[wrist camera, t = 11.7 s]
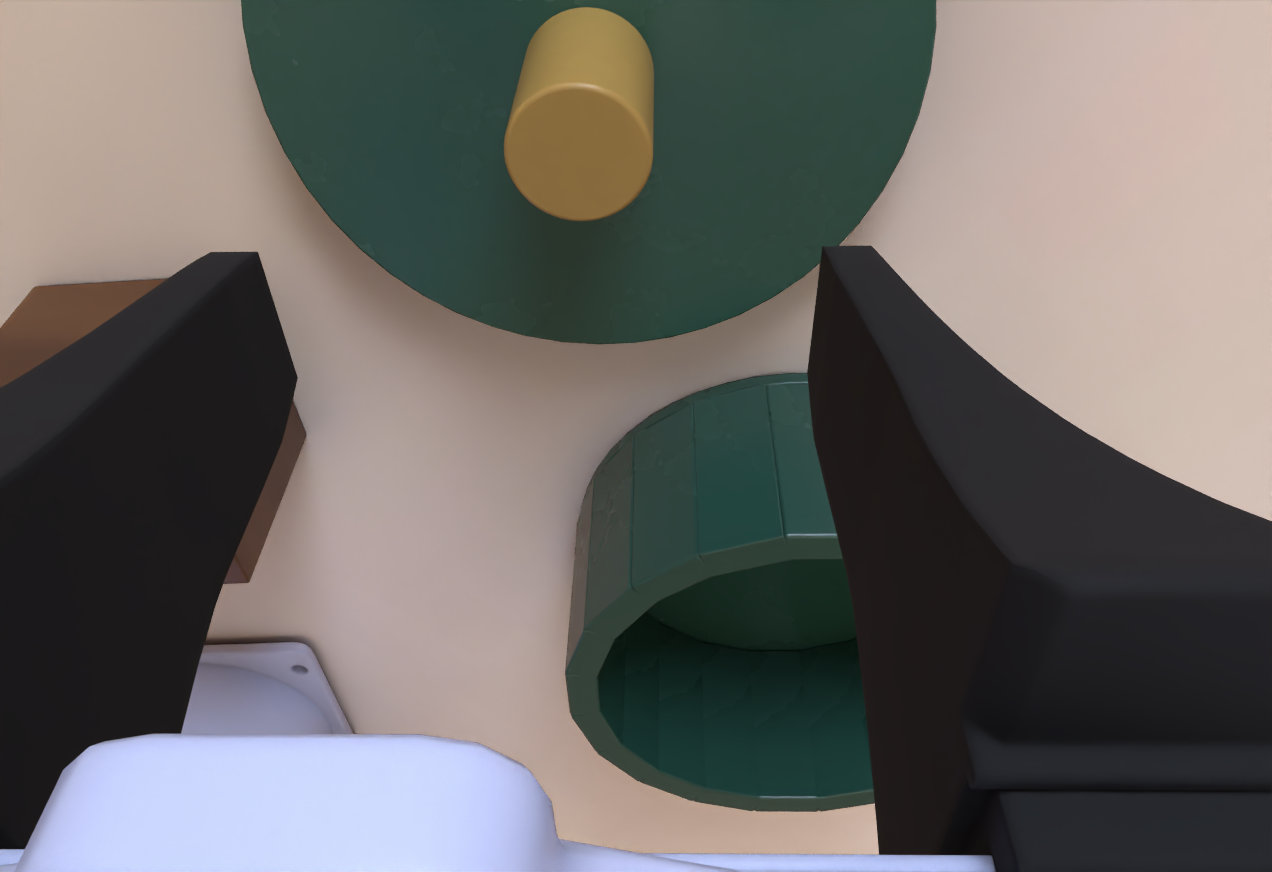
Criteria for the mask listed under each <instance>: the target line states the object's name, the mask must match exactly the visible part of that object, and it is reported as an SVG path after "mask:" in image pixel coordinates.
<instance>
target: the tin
mask: <svg viewBox="0 0 1272 872" xmlns="http://www.w3.org/2000/svg"><path fill="white" fill-rule="evenodd" d="M565 677H566V685H567V693H568V701H569V709H570V713H571V716H572V718H573V720H574V721H575V722H576V724H577V725H578V727H579V728H580V730H581V731H582V732H583V734H584V735H585V737H586V738H587V739H588V741H589V742H590V744H591V745H592V746H593V748H594V749H595V751H597V753H598V754H599V755H600V756H602V757H603V758H605V759H606V760H608V761H609V762H611V763H612V764H614V765H615V766H616V767H618V768H619V769H621V770H622V771H624V772H625V773H627V774H628V775H630V776H631V777H633V778H634V779H635V780H637V781H640V782H641V783H644V784H647V785H649V786H652V787H655V788H658V789H660V790H663V791H666V792H668V793H671V794H674V795H677V796H679V797H682V798H685V799H687V800H690V801H693V800H694V801H695V802H700V803H706V804H712V805H718V806H724V807H730V808H736V809H742V810H748V811H754V810H755V811H791V812H816V811H818V810H819V811H827V810H834V809H841V808H847V807H854V806H861V805H867V804H874V803H875V800H874V789H873V779H872V769H871V759H870V748H869V738H868V729H867V720H866V711H865V703H864V694H863V685H862V676H861V667H860V659H859V652H858V644H857V636H856V628H855V620H854V612H853V605H852V599H851V594H850V589H849V584H848V579H847V574H846V570H845V565H844V561H843V557H842V553H841V549H840V545H839V541H838V537H837V533H836V529H835V525H834V521H833V517H832V512H831V508H830V504H829V500H828V496H827V492H826V488H825V484H824V480H823V475H822V471H821V467H820V463H819V459H818V455H817V450H816V446H815V441H814V436H813V427H812V418H811V409H810V398H809V387H808V377H807V373H787V374H777V375H767V376H758V377H753V378H748V379H743V380H738V381H733V382H728V383H725V384H722V385H719V386H715V387H712V388H709V389H706V390H703V391H699V392H697V393H695V394H693V395H690V396H688V397H686V398H683V399H681V400H679V401H676V402H674V403H672V404H670V405H669V406H667V407H665V408H663V409H662V410H660V411H658V412H657V413H655V414H653V415H651V416H650V417H648V418H647V419H646V420H644V421H643V422H642V423H640V424H639V425H638V426H636V427H635V428H634V429H632V430H631V431H630V432H628V433H627V434H626V435H625V436H624V437H623V438H622V439H621V440H620V441H619V442H618V443H617V444H616V445H615V446H614V447H613V448H612V449H611V450H610V452H609V453H608V455H607V456H606V457H605V459H604V460H603V461H602V463H601V464H600V465H599V467H598V468H597V470H596V472H595V474H594V475H593V477H592V479H591V481H590V483H589V485H588V487H587V491H586V494H585V497H584V500H583V503H582V508H581V514H580V517H579V520H578V524H577V535H576V547H575V559H574V572H573V584H572V596H571V608H570V620H569V632H568V644H567V656H566V669H565Z"/></svg>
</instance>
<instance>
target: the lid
mask: <svg viewBox="0 0 1272 872" xmlns="http://www.w3.org/2000/svg"><path fill="white" fill-rule="evenodd" d="M241 6H242V20H243V28H244V33H245V38H246V43H247V48H248V53H249V58H250V64H251V69H252V72H253V75H254V78H255V81H256V84H257V87H258V90H259V93H260V96H261V99H262V102H263V105H264V108H265V112H266V114H267V116H268V118H269V120H270V123H271V125H272V127H273V129H274V131H275V133H276V135H277V137H278V140H279V142H280V144H281V146H282V148H283V150H284V152H285V154H286V156H287V157H288V159H289V160H290V162H291V164H292V165H293V167H294V169H295V170H296V172H297V173H298V175H299V177H300V178H301V180H302V181H303V183H304V185H305V186H306V188H307V189H308V191H309V192H310V193H311V194H312V196H313V197H314V198H315V199H316V201H317V202H318V203H319V205H320V206H321V207H322V208H323V210H324V211H325V212H326V213H327V215H328V216H329V217H330V219H331V220H332V221H333V222H334V223H335V224H336V225H337V226H338V227H339V228H340V229H341V230H342V231H343V232H344V233H345V234H346V235H347V236H348V237H349V238H350V239H351V240H352V241H353V242H354V243H355V244H356V245H357V246H358V247H359V249H361V250H362V251H363V252H364V253H365V254H367V255H368V256H369V257H370V258H372V259H373V260H374V261H375V262H376V263H378V264H379V265H380V266H381V267H382V268H384V269H385V270H386V271H387V272H389V273H390V274H391V275H393V276H394V277H396V278H397V279H399V280H400V281H402V282H403V283H405V284H406V285H408V286H409V287H411V288H412V289H414V290H415V291H417V292H418V293H420V294H421V295H423V296H425V297H427V298H429V299H431V300H433V301H435V302H437V303H439V304H440V305H442V306H444V307H446V308H448V309H450V310H452V311H454V312H456V313H458V314H461V315H463V316H466V317H469V318H471V319H474V320H476V321H479V322H481V323H484V324H487V325H489V326H492V327H495V328H499V329H503V330H506V331H510V332H514V333H517V334H521V335H524V336H529V337H535V338H541V339H547V340H553V341H559V342H570V343H586V344H616V343H636V342H642V341H649V340H655V339H662V338H668V337H673V336H677V335H681V334H684V333H688V332H692V331H696V330H700V329H703V328H707V327H709V326H712V325H714V324H717V323H720V322H722V321H725V320H727V319H730V318H733V317H735V316H738V315H740V314H742V313H744V312H746V311H748V310H750V309H752V308H754V307H756V306H757V305H759V304H761V303H763V302H765V301H767V300H769V299H771V298H773V297H774V296H776V295H777V294H779V293H780V292H782V291H783V290H785V289H786V288H788V287H789V286H791V285H792V284H794V283H795V282H797V281H798V280H800V279H801V278H803V277H804V276H805V275H806V274H807V273H809V272H810V271H811V270H812V269H813V268H814V267H816V266H817V265H818V264H819V263H820V262H821V254H822V246H839V245H840V244H841V242H842V241H843V240H844V239H845V238H846V237H847V236H848V235H849V234H850V233H851V232H852V231H853V229H854V228H855V227H856V226H857V225H858V224H859V223H860V222H861V220H862V219H863V217H864V216H865V215H866V213H867V212H868V211H869V209H870V208H871V206H872V205H873V204H874V202H875V201H876V200H877V198H878V197H879V195H880V194H881V193H882V191H883V190H884V188H885V186H886V184H887V182H888V181H889V179H890V177H891V175H892V173H893V172H894V170H895V168H896V166H897V164H898V163H899V161H900V159H901V157H902V155H903V153H904V151H905V148H906V146H907V143H908V141H909V139H910V136H911V134H912V131H913V129H914V126H915V124H916V121H917V119H918V116H919V113H920V109H921V106H922V102H923V98H924V94H925V91H926V87H927V83H928V79H929V75H930V71H931V63H932V56H933V48H934V40H935V33H936V0H241Z"/></svg>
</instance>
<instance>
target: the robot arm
mask: <svg viewBox="0 0 1272 872" xmlns="http://www.w3.org/2000/svg"><path fill="white" fill-rule="evenodd" d="M807 377H808V387H809V398H810V409H811V418H812V427H813V436H814V441H815V446H816V450H817V455H818V459H819V463H820V467H821V471H822V475H823V480H824V484H825V488H826V492H827V496H828V500H829V504H830V508H831V512H832V517H833V521H834V525H835V529H836V533H837V537H838V541H839V545H840V549H841V553H842V557H843V561H844V565H845V570H846V574H847V579H848V584H849V589H850V594H851V599H852V605H853V612H854V620H855V628H856V636H857V644H858V652H859V659H860V667H861V676H862V685H863V694H864V703H865V711H866V720H867V729H868V738H869V748H870V759H871V769H872V779H873V789H874V800H875V810H876V821H877V833H878V845H879V855H834V854H676V853H636V852H630V851H625V850H619V849H613V848H607V847H602V846H596V845H590V844H584V843H579V842H573V841H567V840H562V839H559V838H558V836H557V833H556V826H555V820H554V813H553V807H552V802H551V800H550V799H549V797H548V796H547V795H546V793H545V792H544V790H543V789H542V787H541V786H540V784H539V783H538V782H537V780H536V779H535V777H534V776H533V774H532V773H531V772H530V771H529V770H528V769H527V768H526V767H525V766H524V765H523V764H521V763H519V762H517V761H515V760H513V759H511V758H509V757H507V756H505V755H503V754H500V753H498V752H496V751H494V750H492V749H490V748H488V747H486V746H484V745H482V744H480V743H477V742H470V741H463V740H456V739H449V738H442V737H435V736H428V735H421V734H353V732H352V730H351V728H350V726H349V724H348V722H347V720H346V718H345V716H344V714H343V711H342V709H341V707H340V705H339V703H338V701H337V699H336V697H335V695H334V693H333V691H332V689H331V687H330V685H329V683H328V681H327V679H326V677H325V675H324V673H323V671H322V669H321V667H320V665H319V663H318V661H317V659H316V657H315V654H314V652H313V651H312V650H311V648H310V647H309V646H307V645H305V644H303V643H299V642H282V643H252V644H223V645H204V644H205V640H206V637H207V633H208V630H209V626H210V623H211V619H212V616H213V612H214V609H215V605H216V602H217V600H218V597H219V594H220V591H221V589H222V586H223V583H224V580H225V578H226V575H227V573H228V570H229V568H230V565H231V563H232V561H233V558H234V556H235V554H236V551H237V549H238V547H239V544H240V542H241V539H242V537H243V535H244V532H245V530H246V528H247V525H248V523H249V521H250V518H251V516H252V513H253V511H254V509H255V506H256V504H257V502H258V499H259V497H260V495H261V492H262V490H263V487H264V485H265V483H266V480H267V478H268V475H269V473H270V470H271V468H272V466H273V463H274V461H275V458H276V456H277V453H278V451H279V448H280V446H281V443H282V440H283V436H284V433H285V429H286V425H287V421H288V417H289V413H290V409H291V405H292V400H293V396H294V391H295V387H296V382H297V378H298V377H297V374H296V371H295V368H294V365H293V362H292V358H291V355H290V352H289V349H288V346H287V343H286V340H285V336H284V333H283V330H282V327H281V324H280V321H279V317H278V314H277V311H276V308H275V305H274V302H273V299H272V295H271V292H270V289H269V286H268V283H267V280H266V276H265V273H264V270H263V267H262V264H261V261H260V257H259V254H258V252H211V253H209V254H207V255H205V256H203V257H201V258H200V259H198V260H196V261H194V262H193V263H191V264H190V265H188V266H186V267H185V268H183V269H182V270H180V271H179V272H177V273H176V274H174V275H173V276H171V277H170V278H168V279H167V280H165V281H164V282H162V283H161V284H159V285H158V286H157V287H155V288H154V289H152V290H151V291H149V292H148V293H146V294H145V295H144V296H142V297H141V298H139V299H138V300H136V301H135V302H133V303H132V304H131V305H129V306H128V307H126V308H125V309H123V310H122V311H120V312H119V313H117V314H116V315H115V316H113V317H112V318H110V319H109V320H107V321H106V322H104V323H103V324H101V325H100V326H99V327H97V328H96V329H94V330H93V331H91V332H90V333H88V334H87V335H85V336H84V337H82V338H80V339H79V340H77V341H76V342H74V343H72V344H71V345H69V346H68V347H66V348H65V349H63V350H61V351H60V352H58V353H57V354H55V355H53V356H52V357H50V358H49V359H47V360H46V361H44V362H42V363H41V364H39V365H38V366H36V367H34V368H33V369H31V370H30V371H28V372H27V373H25V374H23V375H22V376H20V377H18V378H16V379H15V380H13V381H11V382H10V383H8V384H6V385H4V386H3V387H1V388H0V872H1272V521H1269V520H1267V519H1264V518H1262V517H1259V516H1256V515H1254V514H1251V513H1249V512H1246V511H1243V510H1241V509H1238V508H1236V507H1233V506H1230V505H1228V504H1225V503H1223V502H1221V501H1218V500H1216V499H1214V498H1211V497H1209V496H1207V495H1205V494H1203V493H1201V492H1199V491H1196V490H1194V489H1192V488H1190V487H1188V486H1186V485H1183V484H1181V483H1179V482H1177V481H1175V480H1173V479H1171V478H1168V477H1166V476H1164V475H1162V474H1160V473H1158V472H1156V471H1154V470H1152V469H1150V468H1149V467H1147V466H1145V465H1143V464H1141V463H1139V462H1137V461H1135V460H1133V459H1131V458H1129V457H1127V456H1126V455H1124V454H1122V453H1120V452H1119V451H1117V450H1115V449H1114V448H1112V447H1110V446H1108V445H1107V444H1105V443H1103V442H1101V441H1100V440H1098V439H1096V438H1094V437H1093V436H1091V435H1089V434H1087V433H1086V432H1084V431H1083V430H1081V429H1079V428H1078V427H1076V426H1075V425H1073V424H1071V423H1070V422H1068V421H1067V420H1065V419H1064V418H1062V417H1060V416H1059V415H1058V414H1056V413H1055V412H1053V411H1052V410H1050V409H1049V408H1048V407H1046V406H1045V405H1043V404H1042V403H1040V402H1039V401H1038V400H1036V399H1035V398H1033V397H1032V396H1031V395H1029V394H1028V393H1026V392H1025V391H1023V390H1022V389H1021V388H1019V387H1018V386H1017V385H1016V384H1014V383H1013V382H1012V381H1010V380H1009V379H1008V378H1006V377H1005V376H1004V375H1003V374H1001V373H1000V372H999V371H998V370H997V369H996V368H994V367H993V366H992V365H991V364H990V363H988V362H987V361H986V360H985V359H984V358H983V357H981V356H980V355H979V354H978V353H977V352H975V351H974V350H973V349H972V348H971V347H970V346H969V345H968V344H967V343H965V342H964V341H963V340H962V339H961V338H960V337H959V336H958V335H957V334H956V333H955V332H953V331H952V330H951V329H950V328H949V327H948V326H947V325H946V324H945V323H944V322H943V321H942V320H941V319H940V318H939V317H938V316H937V315H936V314H935V313H934V312H933V311H932V310H931V309H930V308H929V307H928V306H927V305H926V304H925V303H924V302H923V301H922V300H921V299H920V298H919V297H918V296H917V295H916V293H915V292H914V291H913V290H912V289H911V288H910V287H909V286H908V285H907V284H906V283H905V282H904V281H903V280H902V278H901V277H900V276H899V275H898V274H897V273H896V272H895V271H894V270H893V269H892V268H891V267H890V265H889V264H888V263H887V262H886V261H885V260H884V259H883V258H882V257H881V256H880V255H879V253H878V252H877V251H876V250H875V249H874V248H873V247H872V246H822V254H821V263H820V271H819V279H818V288H817V296H816V305H815V313H814V321H813V330H812V338H811V347H810V355H809V364H808V372H807Z"/></svg>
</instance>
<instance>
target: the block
mask: <svg viewBox="0 0 1272 872" xmlns="http://www.w3.org/2000/svg"><path fill="white" fill-rule="evenodd" d="M165 280H167V279H157V280H140V281H123V282H106V283H89V284H72V285H55V286H38V287H34V288H33V289H32V290H31V291H30V293H29V294H28V295H27V296H26V298H25V299H24V300H23V301H22V302H21V304H20V305H19V306H18V307H17V308H16V310H15V311H14V312H13V313H12V314H11V316H10V317H9V318H8V319H7V320H6V322H5V323H4V324H3V325H2V326H1V328H0V388H1V387H3V386H4V385H6V384H8V383H10V382H11V381H13V380H15V379H16V378H18V377H20V376H22V375H23V374H25V373H27V372H28V371H30V370H31V369H33V368H34V367H36V366H38V365H39V364H41V363H42V362H44V361H46V360H47V359H49V358H50V357H52V356H53V355H55V354H57V353H58V352H60V351H61V350H63V349H65V348H66V347H68V346H69V345H71V344H72V343H74V342H76V341H77V340H79V339H80V338H82V337H84V336H85V335H87V334H88V333H90V332H91V331H93V330H94V329H96V328H97V327H99V326H100V325H101V324H103V323H104V322H106V321H107V320H109V319H110V318H112V317H113V316H115V315H116V314H117V313H119V312H120V311H122V310H123V309H125V308H126V307H128V306H129V305H131V304H132V303H133V302H135V301H136V300H138V299H139V298H141V297H142V296H144V295H145V294H146V293H148V292H149V291H151V290H152V289H154V288H155V287H157V286H158V285H159V284H161V283H162V282H164V281H165ZM305 438H306V432H305V430H304V427H303V425H302V422H301V420H300V417H299V415H298V412H297V410H296V407H295V405H294V402H293V400H292V405H291V409H290V413H289V417H288V421H287V425H286V429H285V433H284V436H283V440H282V443H281V446H280V448H279V451H278V453H277V456H276V458H275V461H274V463H273V466H272V468H271V470H270V473H269V475H268V478H267V480H266V483H265V485H264V487H263V490H262V492H261V495H260V497H259V499H258V502H257V504H256V506H255V509H254V511H253V513H252V516H251V518H250V521H249V523H248V525H247V528H246V530H245V532H244V535H243V537H242V539H241V542H240V544H239V547H238V549H237V551H236V554H235V556H234V558H233V561H232V563H231V565H230V568H229V570H228V573H227V575H226V578H225V580H224V583H223V584H233V583H249V582H250V579H251V577H252V574H253V572H254V569H255V566H256V564H257V561H258V559H259V556H260V554H261V551H262V549H263V546H264V543H265V541H266V538H267V536H268V533H269V531H270V528H271V525H272V523H273V520H274V518H275V515H276V513H277V510H278V508H279V505H280V502H281V500H282V497H283V495H284V492H285V490H286V487H287V485H288V482H289V479H290V477H291V474H292V472H293V469H294V467H295V464H296V461H297V459H298V456H299V454H300V451H301V449H302V446H303V444H304V441H305Z"/></svg>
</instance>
